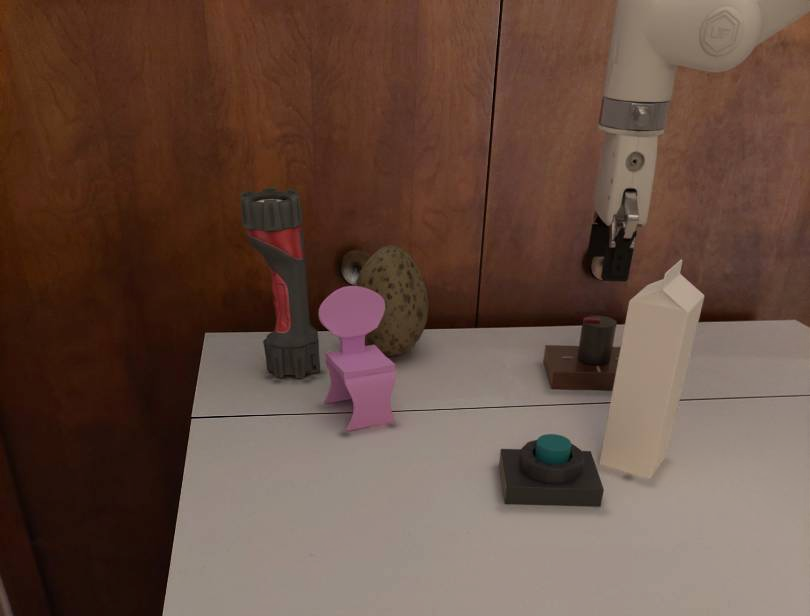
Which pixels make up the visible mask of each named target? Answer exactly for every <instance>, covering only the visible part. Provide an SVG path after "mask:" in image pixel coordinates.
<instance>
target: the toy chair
mask: <svg viewBox="0 0 810 616" xmlns="http://www.w3.org/2000/svg"><path fill="white" fill-rule="evenodd" d="M384 311H385V302H384V299H383V298H382V296H380V295H379V294H378V293H376V292H374V291H372V290H370V289H367V288H364V287H359V286H355V285H347V286H343V287H340V288H338V289H336V290H334V291H333V292H332V293H330V294H329V295H328V296H327V297H326V298H325V299H324V300H322V303H321V304H320V306H319V308H318V313H317V315H318V320H319V322H320V324H321V325H322V326H323V327H324V328H325V329H326V330H328V331H329V332H330V333H331V335H333V336H336V337H338V338H339V339H338V340H339V350H332V351H326V352H325V359H324V362H325V366H326V368H327V370H328V373H329V376H330V384H329V388H328V391H327V393H326V396H325V397H324V400H323V403H324V404H331V403H332V404H333V403H337V402H342V401H347V400H351V401H352V405H353V409H352V415H351V417H350V420H349V422H348V424H347V426H346V429H345V431H346V432H350V431H351V432H352V431H356V430H361V429H366V428H370V427H375V426H381V425H385V424H390V423H391V424H392V423H395V422H396V420H395V418H394V414H393V412H392V404H391V403H392V402H391V400H392V395H393V390H394V387H395V385H396V384H395V383H396V381H397V374H396V364H395V363H394V361H392V360H391V359H390V358H388V356H385V355H384V354H383V353H382V352H381V351H380V350H379V349H378V348H377V347H376V346H375V345H370V346H365V335H366V334H368V333H369V332H371V331H373V330H374V329H376V328H377V327H378V325H379V323H380V321H381V319H382V317H383V314H384Z"/></svg>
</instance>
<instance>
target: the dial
mask: <svg viewBox="0 0 810 616" xmlns="http://www.w3.org/2000/svg"><path fill="white" fill-rule="evenodd" d="M617 324H618V323H617V321H616V319H614V318H611V317H609V316H604V315H588V316H585V317H583V319H582V323H581V329H580V330H581V331H580V337H579V344H578V346H579V349H578V356H577V357H578V359H579V360H580V361H582V362H584V363H587V364H592V365H602V364H606V363H608V362H609V361H610V359H611V353H612V347H614V341H615V336H616V330H617Z"/></svg>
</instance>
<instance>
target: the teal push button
mask: <svg viewBox="0 0 810 616" xmlns="http://www.w3.org/2000/svg"><path fill="white" fill-rule="evenodd" d="M536 440H537V443H536V451H535V457H536V458H537V459H538V460H540V461H543V462H546V463H551V464H561V463H564V462H567V461H568V460H569V457H570V451H571V444H572V441H571V440H570V439H569V438H568V437H566V436H564V435H561V434H556V433H547V434H542V435H540V436H539V437H537V439H536Z"/></svg>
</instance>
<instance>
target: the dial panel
mask: <svg viewBox="0 0 810 616" xmlns="http://www.w3.org/2000/svg"><path fill="white" fill-rule="evenodd" d="M620 348H621V346H613V347H612V353H611V359H610V361H609V362H608V363H606V364H602V365H592V364H587V363H584V362H582V361H580V360H579V359H578V357H577V356H578V349H579V345H560V344H559V345H556V344H545V346H544V354H543V361H542V362H543V365H544V368H545V372H546V375H547V378H548V382H549V385H550V388H551V390H583V391H584V390H586V391H590V390H591V391H613V386H614V381H615V375H616V370H617V365H618V359H619V354H620Z"/></svg>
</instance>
